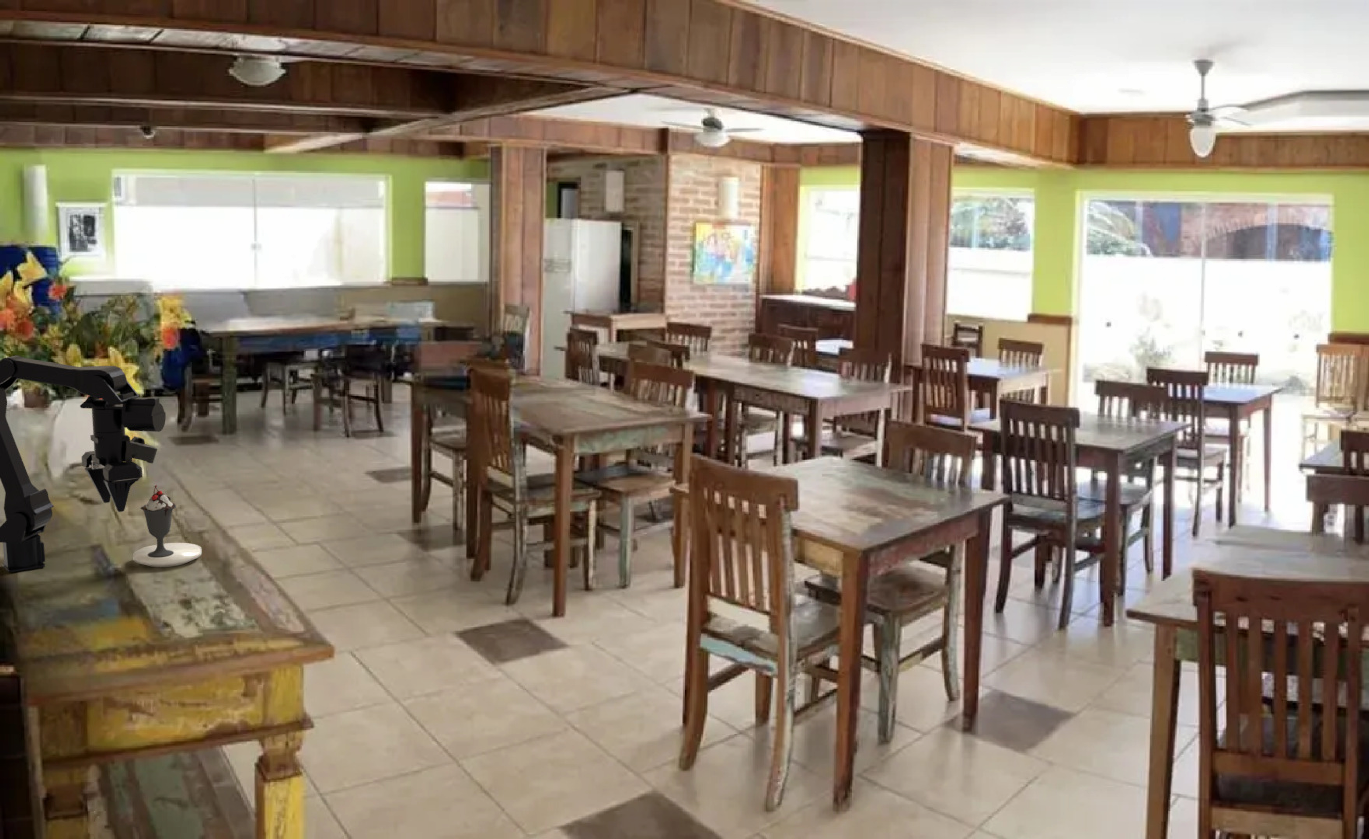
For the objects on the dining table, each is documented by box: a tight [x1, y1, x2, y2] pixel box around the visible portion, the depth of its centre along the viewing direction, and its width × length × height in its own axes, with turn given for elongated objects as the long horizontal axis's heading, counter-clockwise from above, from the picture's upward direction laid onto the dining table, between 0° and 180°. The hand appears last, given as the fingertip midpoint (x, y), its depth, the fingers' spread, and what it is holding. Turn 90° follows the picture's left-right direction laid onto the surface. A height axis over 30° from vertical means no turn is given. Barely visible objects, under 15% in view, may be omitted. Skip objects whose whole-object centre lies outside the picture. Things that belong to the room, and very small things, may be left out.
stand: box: [132, 542, 202, 568], centre depth 248 cm, size 13×13×2 cm
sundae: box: [139, 484, 177, 558], centre depth 244 cm, size 7×7×15 cm
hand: (113, 506), depth 239 cm, fingers open, 9 cm apart
